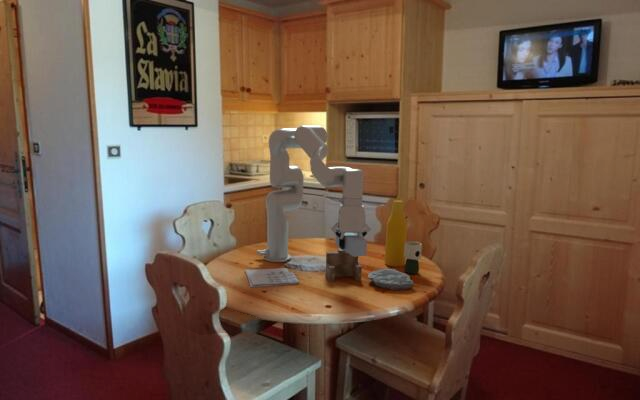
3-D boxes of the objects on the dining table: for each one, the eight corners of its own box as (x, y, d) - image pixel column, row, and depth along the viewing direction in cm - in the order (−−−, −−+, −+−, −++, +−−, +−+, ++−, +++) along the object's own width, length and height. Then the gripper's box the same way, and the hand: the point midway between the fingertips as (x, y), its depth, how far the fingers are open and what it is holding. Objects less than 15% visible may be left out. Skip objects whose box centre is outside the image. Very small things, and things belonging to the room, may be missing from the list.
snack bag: (250, 288, 179) (250, 283, 179) (244, 272, 199) (244, 267, 198) (299, 285, 185) (299, 280, 184) (289, 269, 204) (289, 265, 203)
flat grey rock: (359, 278, 194) (359, 271, 194) (395, 274, 200) (396, 267, 200) (381, 294, 176) (382, 287, 176) (421, 290, 182) (421, 282, 182)
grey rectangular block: (353, 256, 173) (354, 238, 171) (335, 245, 187) (335, 228, 186) (366, 255, 175) (367, 237, 174) (347, 244, 189) (347, 227, 188)
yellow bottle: (399, 268, 208) (402, 203, 203) (380, 264, 214) (383, 200, 209) (408, 263, 215) (412, 201, 211) (390, 259, 221) (393, 198, 216)
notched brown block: (329, 281, 188) (330, 254, 186) (325, 275, 196) (326, 248, 194) (361, 280, 190) (362, 253, 188) (355, 274, 199) (356, 248, 197)
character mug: (414, 277, 196) (416, 247, 194) (398, 274, 200) (400, 244, 198) (424, 271, 205) (426, 242, 203) (409, 268, 209) (410, 239, 207)
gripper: (331, 203, 173) (330, 251, 176) (377, 203, 176) (374, 250, 179) (327, 200, 180) (326, 246, 183) (371, 200, 183) (369, 245, 186)
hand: (350, 248), depth 181 cm, fingers closed on grey rectangular block, 5 cm apart
